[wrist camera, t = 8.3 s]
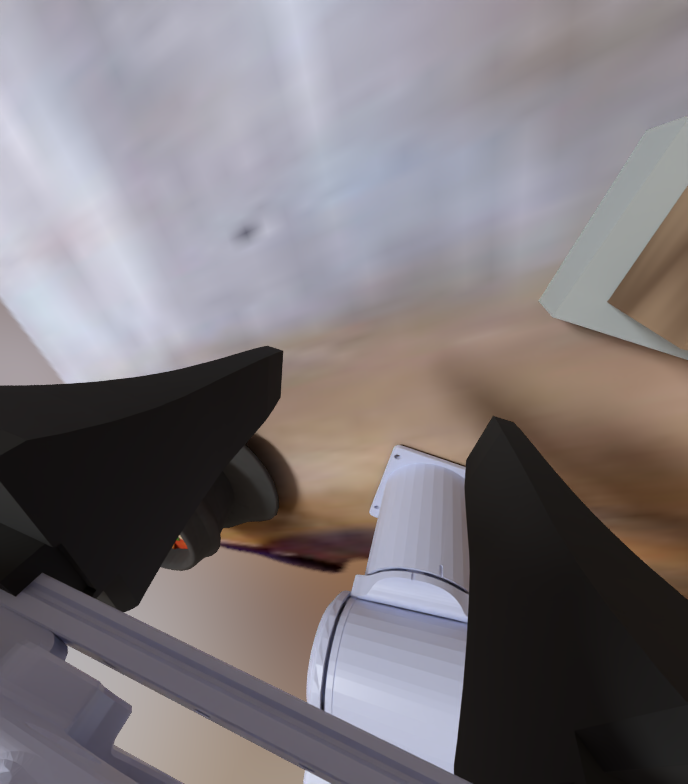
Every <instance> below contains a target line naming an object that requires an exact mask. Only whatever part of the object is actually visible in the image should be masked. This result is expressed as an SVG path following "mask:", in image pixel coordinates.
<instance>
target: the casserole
mask: <svg viewBox="0 0 688 784" xmlns="http://www.w3.org/2000/svg"><path fill="white" fill-rule="evenodd" d="M278 509H279V499H278V494H277V491H276V487H275V484H274V482H273V480H272V478H271V477H270V475H269V473H268V471H267V469H266V468H265V467H264V465H263V464H262V463H261V461H260V460H259V459H258V457H257V456H256V455H255V454H254V453H253V452H252V451H251V450H250V449H249V448H248V447H247V446H246V445H244V446H243V447H242V449H241V450H240V451H239V452H238V453H237V454H236V455H235V457H234V458H233V459H232V460H231V461H230V462H229V464H228V465H227V466H226V467H225V469H224V470H223V471H222V472H221V474H220V475H219V476H218V478H217V479H216V481H215V482H214V484H213V485H212V487H211V488H210V489H209V491H208V492H207V494H206V495H205V497H204V498H203V500H202V501H201V503H200V504H199V506H198V507H197V509H196V510H195V512H194V513H193V515H192V516H191V518H190V519H189V521H188V522H187V524H186V525H185V527H184V529H183V530H182V532H181V534H180V535H179V537H178V538H177V540H176V542H175V543H174V545H173V546H172V548H171V550H170V551H169V553H168V555H167V556H166V558H165V560H164V561H163V563H162V565H161V567H163V568H166V569H171V570H180V571H183V570H188V569H191V568H192V567H194V566H195V565H196V564H197V563H198V562H200V561H201V560H202V559H203V558H205V557H209V556H211V555H213V554H215V553H216V552H217V550H218V549H219V547H220V540H221V537H220V533H221V531H222V529H223V528H230V527H233V526H236V525H239V524H242V523H245V522H252V521H265V520H270V519H272V518H273V517H274V516H276V515H277V512H278Z"/></svg>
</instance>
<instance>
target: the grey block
mask: <svg viewBox="0 0 688 784" xmlns="http://www.w3.org/2000/svg"><path fill="white" fill-rule="evenodd" d="M687 186H688V116H686V117H683V118H680V119H677V120H674V121H671V122H669V123H666V124H663V125H660V126H657V127H654V128H652V129H649V130H646V132H645V134H644V135H643V137H642V138H641V140H640V141H639V143H638V145H637V146H636V148H635V149H634V151H633V153H632V154H631V156H630V157H629V159H628V160H627V162H626V164H625V165H624V167H623V168H622V170H621V171H620V173H619V175H618V176H617V178H616V179H615V181H614V183H613V184H612V186H611V187H610V189H609V190H608V192H607V194H606V195H605V197H604V198H603V200H602V201H601V203H600V205H599V206H598V208H597V209H596V211H595V213H594V214H593V216H592V217H591V219H590V220H589V222H588V224H587V225H586V227H585V228H584V230H583V231H582V233H581V235H580V236H579V238H578V239H577V241H576V243H575V244H574V246H573V247H572V249H571V250H570V252H569V254H568V255H567V257H566V258H565V260H564V262H563V263H562V265H561V266H560V268H559V269H558V271H557V273H556V274H555V276H554V277H553V279H552V280H551V282H550V284H549V285H548V287H547V288H546V290H545V292H544V293H543V295H542V296H541V298H540V299H539V302H540V303H541V305H542V306H543V307H544V308H545V309H546V310H547V311H548V313H549V314H550V315H551V316H552V317H554V318H557V319H561V320H564V321H567V322H570V323H573V324H576V325H579V326H583V327H586V328H589V329H592V330H595V331H598V332H601V333H604V334H608V335H611V336H614V337H617V338H620V339H623V340H626V341H630V342H633V343H636V344H639V345H642V346H645V347H648V348H652V349H655V350H658V351H661V352H664V353H667V354H670V355H674V356H677V357H680V358H683V359H686V360H688V351H687V350H683V349H680V348H678V347H677V346H675V345H674V344H672V343H671V342H669V341H667V340H666V339H664V338H663V337H661V336H660V335H658V334H656V333H655V332H653V331H652V330H650V329H649V328H647V327H645V326H644V325H642V324H641V323H639V322H637V321H636V320H634V319H633V318H631V317H630V316H628V315H626V314H625V313H623V312H622V311H620V310H619V309H617V308H615V307H614V306H612V305H611V304H609V303H608V300H609V299H610V297H611V296H612V294H613V293H614V291H615V290H616V288H617V287H618V286H619V284H620V283H621V281H622V280H623V278H624V277H625V275H626V274H627V273H628V271H629V270H630V268H631V267H632V265H633V264H634V262H635V261H636V260H637V258H638V257H639V255H640V254H641V252H642V251H643V249H644V248H645V247H646V245H647V244H648V242H649V241H650V239H651V238H652V236H653V235H654V234H655V232H656V231H657V229H658V228H659V226H660V225H661V223H662V222H663V220H664V219H665V218H666V216H667V215H668V213H669V212H670V210H671V209H672V207H673V206H674V205H675V203H676V202H677V200H678V199H679V197H680V196H681V194H682V193H683V192H684V190H685V189H686V187H687Z"/></svg>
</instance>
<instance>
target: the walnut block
mask: <svg viewBox="0 0 688 784" xmlns="http://www.w3.org/2000/svg"><path fill="white" fill-rule="evenodd" d="M608 303H609V304H611V305H612V306H614V307H615V308H617V309H619V310H620V311H622V312H623V313H625V314H626V315H628V316H630V317H631V318H633V319H634V320H636V321H637V322H639V323H641V324H642V325H644V326H645V327H647V328H649V329H650V330H652V331H653V332H655V333H656V334H658V335H660V336H661V337H663V338H664V339H666V340H667V341H669V342H671V343H672V344H674V345H675V346H677V347H678V348H680V349H683V350H687V351H688V186H687V187H686V189H685V190H684V192H683V193H682V194H681V196H680V197H679V199H678V200H677V202H676V203H675V205H674V206H673V207H672V209H671V210H670V212H669V213H668V215H667V216H666V218H665V219H664V220H663V222H662V223H661V225H660V226H659V228H658V229H657V231H656V232H655V234H654V235H653V236H652V238H651V239H650V241H649V242H648V244H647V245H646V247H645V248H644V249H643V251H642V252H641V254H640V255H639V257H638V258H637V260H636V261H635V262H634V264H633V265H632V267H631V268H630V270H629V271H628V273H627V274H626V275H625V277H624V278H623V280H622V281H621V283H620V284H619V286H618V287H617V288H616V290H615V291H614V293H613V294H612V296H611V297H610V299H609V300H608Z"/></svg>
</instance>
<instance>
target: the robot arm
mask: <svg viewBox="0 0 688 784" xmlns="http://www.w3.org/2000/svg"><path fill="white" fill-rule="evenodd" d="M282 363H283V351H282V350H279V349H276V348H273V347H269V346H264V347H259V348H255V349H252V350H248V351H245V352H241V353H238V354H235V355H231V356H228V357H224V358H221V359H218V360H214V361H210V362H206V363H202V364H198V365H195V366H191V367H187V368H183V369H178V370H174V371H169V372H164V373H158V374H152V375H147V376H140V377H133V378H125V379H116V380H107V381H99V382H87V383H73V384H55V385H29V386H28V385H27V386H0V784H184V783H182V782H180V781H178V780H177V779H175V778H173V777H171V776H169V775H168V774H166V773H164V772H162V771H160V770H158V769H157V768H155V767H153V766H151V765H149V764H148V763H146V762H144V761H142V760H140V759H138V758H137V757H135V756H133V755H131V754H129V753H128V752H126V751H124V750H122V749H120V748H118V747H117V746H115V745H113V744H114V741H115V738H116V737H117V735H118V733H119V732H120V730H121V729H122V727H123V725H124V724H125V722H126V721H127V719H128V717H129V716H130V714H131V713H132V706H131V705H130V704H128V703H127V702H125V701H124V700H122V699H121V698H119V697H118V696H116V695H115V694H113V693H112V692H111V691H109V690H108V689H107V688H105V687H104V686H103V685H102V684H101V683H100V682H99V681H97V680H96V679H94V678H93V677H91V676H89V675H88V674H86V673H84V672H82V671H81V670H79V669H77V668H76V667H74V666H72V665H70V664H69V663H67V662H65V659H66V656H67V653H68V649H67V645H68V646H70V647H72V648H74V649H76V650H78V651H80V652H82V653H83V654H85V655H87V656H89V657H92V658H93V659H95V660H97V661H99V662H101V663H103V664H104V665H106V666H108V667H110V668H112V669H114V670H116V671H118V672H120V673H122V674H123V675H126V676H127V677H129V678H131V679H133V680H135V681H137V682H139V683H141V684H142V685H144V686H146V687H148V688H150V689H152V690H154V691H156V692H158V693H160V694H162V695H164V696H165V697H167V698H169V699H171V700H173V701H175V702H177V703H179V704H181V705H182V706H184V707H186V708H188V709H190V710H192V711H194V712H196V713H198V714H200V715H202V716H203V717H205V718H207V719H209V720H211V721H213V722H215V723H217V724H219V725H220V726H222V727H224V728H226V729H228V730H230V731H232V732H234V733H236V734H238V735H240V736H241V737H243V738H245V739H247V740H249V741H251V742H253V743H255V744H257V745H259V746H261V747H262V748H264V749H266V750H268V751H270V752H272V753H274V754H276V755H278V756H279V757H281V758H284V759H285V760H287V761H289V762H291V763H293V764H295V765H297V766H299V767H300V768H302V769H304V770H305V774H304V781H303V784H688V600H687V599H686V598H685V597H684V596H683V595H681V594H680V593H679V592H678V591H677V590H676V589H674V588H673V587H672V586H671V585H670V584H669V583H667V582H666V581H665V580H664V579H663V578H662V577H660V576H659V575H658V574H657V573H656V572H655V571H653V570H652V569H651V568H650V567H649V566H648V565H647V564H645V563H644V562H643V561H642V560H641V559H640V558H639V557H638V556H637V555H635V554H634V553H633V552H632V551H631V550H630V549H629V548H628V547H627V546H626V545H625V544H624V543H623V542H622V541H621V540H620V539H619V538H618V537H616V536H615V535H614V534H613V533H612V532H611V531H610V530H609V529H608V528H607V527H606V526H605V525H604V524H603V523H602V522H601V521H600V520H599V519H598V518H597V517H596V516H595V515H594V514H593V513H592V512H591V511H590V510H589V509H588V508H587V506H586V505H585V504H584V503H583V502H582V501H581V500H580V499H579V498H578V497H577V496H576V495H575V494H574V492H573V491H572V490H571V489H570V488H569V487H568V486H567V485H566V483H565V482H564V481H563V480H562V479H561V478H560V477H559V475H558V474H557V473H556V472H555V471H554V470H553V468H552V467H551V466H550V465H549V464H548V462H547V461H546V460H545V459H544V458H543V456H542V455H541V454H540V453H539V451H538V450H537V449H536V448H535V447H534V445H533V444H532V443H531V442H530V441H529V439H528V438H527V437H526V436H525V435H524V433H523V432H522V431H521V430H520V429H519V428H518V427H517V426H516V424H515V423H514V422H511V421H508V420H504V419H501V418H498V417H495V416H493V417H492V419H491V420H490V422H489V424H488V425H487V427H486V429H485V430H484V432H483V434H482V435H481V437H480V438H479V440H478V442H477V443H476V445H475V447H474V448H473V450H472V452H471V453H470V455H469V456H468V458H467V460H466V467H464V466H461V465H458V464H455V463H452V462H449V461H446V460H443V459H440V458H437V457H434V456H431V455H428V454H425V453H422V452H420V451H417V450H414V449H411V448H408V447H405V446H402V445H396V446H395V447H394V448H393V451H392V453H391V456H390V459H389V461H388V464H387V466H386V469H385V472H384V474H383V477H382V479H381V482H380V485H379V487H378V490H377V492H376V495H375V497H374V500H373V503H372V505H371V508H370V511H369V513H370V514H371V515H372V516H374V517H377V518H378V520H377V524H376V528H375V533H374V537H373V542H372V546H371V550H370V555H369V559H368V563H367V568H366V572H365V575H356V576H355V580H354V584H353V588H352V592H350V591H342V592H341V593H340V594H338V596H336V598H335V599H334V600H333V601H332V602H331V603H330V604H329V606H328V607H327V609H326V610H325V612H324V614H323V617H322V619H321V621H320V624H319V626H318V629H317V632H316V636H315V639H314V643H313V647H312V651H311V656H310V662H309V668H308V676H307V702H305V701H303V700H301V699H299V698H297V697H295V696H293V695H291V694H289V693H286V692H284V691H282V690H280V689H278V688H276V687H274V686H272V685H270V684H268V683H266V682H264V681H262V680H260V679H258V678H256V677H254V676H252V675H250V674H248V673H246V672H244V671H242V670H240V669H237V668H235V667H233V666H231V665H229V664H227V663H225V662H223V661H221V660H219V659H217V658H215V657H213V656H211V655H209V654H207V653H205V652H203V651H201V650H198V649H197V648H195V647H193V646H191V645H188V644H187V643H184V642H182V641H180V640H178V639H176V638H174V637H172V636H170V635H168V634H166V633H164V632H162V631H160V630H158V629H156V628H154V627H152V626H150V625H148V624H146V623H144V622H142V621H139V620H137V619H135V618H133V617H131V616H129V615H127V614H125V613H123V612H126V611H129V610H131V609H133V608H135V607H136V606H138V605H139V603H140V601H141V600H142V598H143V596H144V594H145V592H146V591H147V589H148V587H149V586H150V584H151V582H152V580H153V579H154V577H155V575H156V573H157V572H158V570H159V568H160V567H161V565H162V563H163V561H164V560H165V558H166V556H167V555H168V553H169V551H170V550H171V548H172V546H173V545H174V543H175V542H176V540H177V538H178V537H179V535H180V534H181V532H182V530H183V529H184V527H185V525H186V524H187V522H188V521H189V519H190V518H191V516H192V515H193V513H194V512H195V510H196V509H197V507H198V506H199V504H200V503H201V501H202V500H203V498H204V497H205V495H206V494H207V492H208V491H209V489H210V488H211V487H212V485H213V484H214V482H215V481H216V479H217V478H218V476H219V475H220V474H221V472H222V471H223V470H224V469H225V467H226V466H227V465H228V464H229V462H230V461H231V460H232V459H233V458H234V457H235V455H236V454H237V453H238V452H239V451H240V450H241V449H242V447H243V446H244V445H245V444H246V443H247V442H248V440H249V439H250V438H251V437H252V436H253V435H254V434H255V432H256V431H257V430H258V429H259V428H260V426H261V425H262V424H263V423H264V422H265V420H266V419H267V418H268V416H269V415H270V413H271V412H272V410H273V409H274V407H275V406H276V404H277V402H278V401H279V399H280V397H281V380H282ZM397 455H400V456H397Z"/></svg>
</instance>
